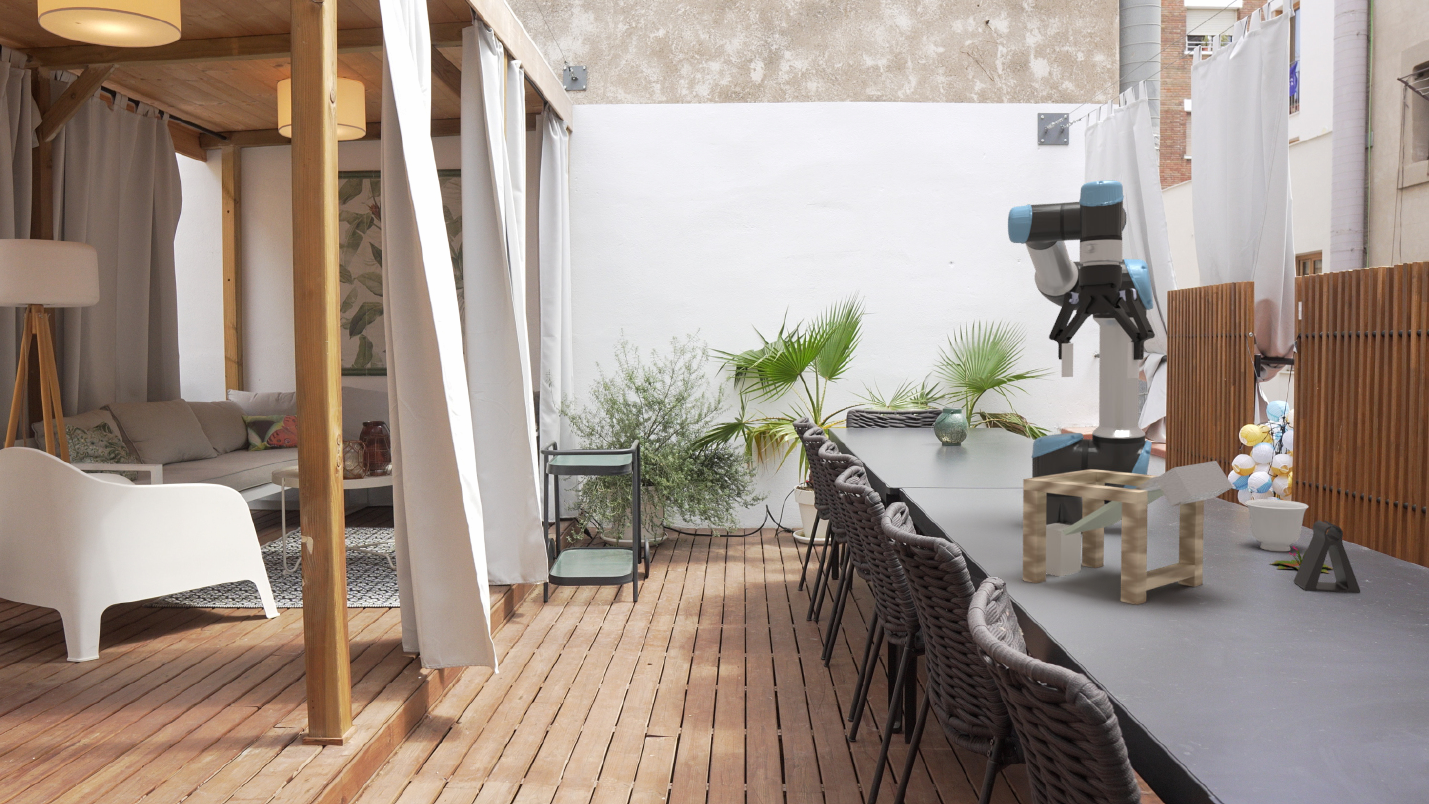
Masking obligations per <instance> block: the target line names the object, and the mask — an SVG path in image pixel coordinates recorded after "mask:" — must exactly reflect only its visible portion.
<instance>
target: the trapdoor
mask: <svg viewBox="0 0 1429 804" xmlns="http://www.w3.org/2000/svg"><path fill="white" fill-rule="evenodd" d="M1155 476H1156V477H1153V478H1151V479H1149V480H1148V481H1146V482H1144V483H1143V484H1141V485H1139V486H1138V487H1136V488H1134V489H1136V490H1145V491H1148V505H1150V504H1151V503H1153V502H1155V501H1156V500H1158V499H1160V498H1162V497H1163V496H1165V498H1166V500H1167V501H1168V503H1169V504H1170V507H1177V506H1180V505H1182V504H1187V503H1191V502H1196V501H1201V500H1204V501H1205V500H1206V501H1207V500H1211V499H1215V498H1217V497H1218V496H1220V495H1222V494H1223V493H1226V492H1227V491H1230V490H1231V489H1233V488H1234V486H1233V485H1232V483H1231V482H1230V479H1229V478H1228V477H1227V475H1226V474H1225V472H1224V471H1223V469H1222V468H1221V466H1220V465H1219V463H1218V462H1217V460H1213V461H1206V462H1201V463H1194V464H1188V465H1183V466H1175V467H1173V468H1170V469H1169V470H1167V471H1166V472H1164V473H1162V474H1160V475H1155ZM1120 521H1122V502H1118V501H1109V502H1108V503H1106V504H1104V506H1102V507H1101V508H1099V509H1098V510H1096V511H1094V512H1093V513H1091V514H1089V515H1088V516H1086V517H1084V518H1083V519H1081V520H1079V521H1078V522H1076V523H1074V524H1073V525H1071V526H1069V527H1068V528H1066V529H1064V530H1063V533H1064V535H1070V534H1074V533H1079V532H1084V531H1088V530H1093V529H1098V528H1102V527H1104V528H1106V527H1107V528H1108V527H1111V526H1114V525H1115V524H1117V523H1118V522H1120Z"/></svg>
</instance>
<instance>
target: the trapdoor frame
mask: <svg viewBox="0 0 1429 804" xmlns="http://www.w3.org/2000/svg"><path fill="white" fill-rule="evenodd" d="M1156 476H1157V475H1153V474H1147V475H1144V474H1134V473H1124V472H1114V471H1104V470H1095V469H1089V470H1082V471H1075V472H1069V473H1062V474H1055V475H1048V476H1041V477H1035V478H1032V477H1029V478H1024V479H1023V480H1022V482H1023V483H1022V484H1023V486H1022V487H1023V488H1022V489H1023V491H1022V492H1023V495H1022V497H1023V499H1022V500H1023V501H1022V502H1023V504H1022V508H1023V509H1022V511H1023V512H1022V514H1023V515H1022V518H1023V519H1022V523H1023V524H1022V581H1023V580H1024V582H1028V583H1034V584H1039V583H1043V582H1046V581H1047V574H1046V492H1047V493H1054V494H1062V495H1070V496H1078V497H1082V498H1083V511H1082V519H1083V518H1084V517H1086V516H1088V515H1089V514H1091V513H1093V512H1094V511H1096V510H1098V509H1099V508H1101V507H1102V506H1104V505H1105V501H1109V502H1111V501H1118V502H1122V520H1121V545H1120V546H1121V551H1120V554H1121V555H1120V556H1121V557H1120V559H1121V560H1120V561H1121V562H1120V602H1123V603H1127V604H1132V605H1136V606H1137V605H1142V604H1144V603H1147V591H1150V590H1152V589H1156V588H1159V587H1163V586H1166V585H1169V584H1173V583H1176V582H1178V584H1179V585H1183V586H1189V587H1198V586H1201V585H1203V581H1204V580H1203V577H1204V576H1203V575H1204V574H1203V571H1204V570H1203V569H1204V568H1203V567H1204V565H1203V564H1204V525H1205V524H1204V523H1205V522H1204V521H1205V520H1204V518H1205V517H1204V516H1205V509H1204V508H1205V500H1201V501H1196V502H1191V503H1187V504H1182V505H1179V526H1178V527H1179V531H1178V533H1179V534H1178V536H1179V537H1178V539H1179V540H1178V542H1179V543H1178V562H1177V563H1172V564H1169V565H1165V566H1161V567H1158V568H1154V569H1151V570H1148V569H1147V566H1148V561H1147V559H1148V556H1147V555H1148V505H1149V504H1148V491H1145V490H1136V489H1127V488H1118V487H1110V486H1105V483H1113V484H1122V485H1131V486H1139V485H1141V484H1143V483H1144V482H1146V481H1148V480H1149V479H1151V478H1153V477H1156ZM1104 558H1105V527H1102V528H1098V529H1093V530H1088V531H1084V532H1082V533H1081V567H1082V566H1083V567H1087V568H1088V567H1089V568H1094V569H1097V568H1101V567H1104V566H1105V563H1104V562H1105V559H1104Z"/></svg>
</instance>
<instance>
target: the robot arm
mask: <svg viewBox="0 0 1429 804" xmlns="http://www.w3.org/2000/svg"><path fill="white" fill-rule="evenodd" d="M1123 187H1124V185H1123V183H1121V182H1120V181H1118V180H1095V181H1088V182H1086V183H1083V185H1082V186H1081V187H1080V193H1079V194H1080V195H1079V196H1080V197H1079V201H1072V202H1059V203H1057V202H1056V203H1041V204H1040V203H1039V204H1026V205H1020V206H1014V207H1012V208H1011V209H1010V210H1009V212H1008V218H1007V232H1008V239H1009V241H1010V242H1011V243H1013V244H1021V245H1022V244H1023V245H1024V244H1025V246H1026V249H1027V252H1028V254H1029V257H1030V259H1031V262H1032V264H1033V267H1034V269H1035V270H1034V271H1035V272H1034V282H1035V283H1034V284H1035V285H1036V288H1037V290H1038V291H1039V292H1040V293H1041V295H1042V296H1043V297H1044V298H1046V299H1047V300H1048V301H1049V302H1051V303H1052V304H1054V305H1056V306H1059V307H1060V308H1061V309H1060V310H1059V313H1058V314H1057V317H1056V319H1055V322H1054V324H1053V326H1052V328H1051V330H1050V334H1049V335H1048V339H1049V340H1051V341H1054V342H1056V343H1057V344H1058V345H1057V346H1058V349H1057V350H1058V353H1057V354H1058V357H1057V358H1058V360H1061V378H1073V377H1074V343H1072V341H1071V340H1072V339H1073V338H1074V337H1075V335H1076V333H1077V332H1078V330H1080V328H1081V327H1082V326H1083V324H1084V323H1085V322H1086V320H1087V319H1088V318H1090V317H1091V315H1092V320H1094V322H1096V323H1097V324H1098V326H1099V351H1098V353H1099V361H1098V363H1099V368H1098V369H1099V373H1098V375H1099V378H1098V379H1099V382H1098V383H1099V385H1098V386H1099V387H1098V391H1099V393H1098V394H1099V395H1098V399H1099V403H1098V405H1099V406H1098V419H1099V420H1098V422H1099V423H1098V426H1097V427H1096V428H1095V429H1094V430H1093V431H1092V434H1091V435H1092V436H1091V437H1092V439H1088V438H1084V437H1085V436H1084V435H1083V433H1081V432H1074V433H1073V432H1069V433H1068V432H1067V433H1057V434H1050V435H1043V436H1039V437H1037V438H1035V440H1034V441H1033V443H1032V453H1031V454H1032V455H1031V459H1032V461H1031V462H1032V463H1031V464H1032V465H1031V466H1032V469H1031V471H1032V473H1031V476H1032V477H1031V478H1035V477H1041V476H1048V475H1055V474H1062V473H1069V472H1075V471H1082V470H1089V469H1095V470H1104V471H1114V472H1124V473H1134V474H1144V475H1148V470H1149V465H1150V458H1151V451H1152V445H1153V443H1152V441H1150V440H1148V439H1146V432H1145V431H1144V430H1142V428H1140V426H1139V399H1140V398H1139V394H1140V393H1139V391H1140V390H1139V389H1140V387H1139V384H1140V383H1139V382H1140V381H1139V379H1140V360H1142V361H1144V356H1145V353H1144V352H1145V351H1144V350H1145V342H1146V341H1148V340H1151V339H1154V338H1155V336H1156V334H1155V332H1154V329H1153V326H1152V325H1151V323H1150V321H1149V319H1148V317H1147V314H1148V313H1147V311H1150V310H1152V309H1153V308H1154V299H1153V288H1152V282H1151V281H1152V280H1151V275H1150V268H1149V265H1148V263H1147V261H1145V260H1144V259H1135V258H1131V259H1130V258H1124V259H1123V231H1124V229H1125V227H1126V225H1127V212H1126V210H1125V208H1124V199H1125V195H1124V189H1123ZM1066 241H1079V261H1073V260H1072V259H1070V256H1069V253H1068V250H1067V245H1066V243H1065V242H1066ZM1074 311H1075V314H1074V316H1073V317H1072V315H1073V313H1074ZM1070 319H1071V320H1070ZM1105 486H1110V487H1118V488H1127V489H1134V488H1136V487H1138V486H1131V485H1122V484H1113V483H1105ZM1082 511H1083V497H1078V496H1070V495H1062V494H1054V493H1047V492H1046V525H1049V524H1054V523H1060V524H1066V525H1073V524H1074V523H1076V522H1078V521H1079V520H1081V519H1082ZM1081 534H1082V532H1081Z"/></svg>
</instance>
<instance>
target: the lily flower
mask: <svg viewBox="0 0 1429 804" xmlns="http://www.w3.org/2000/svg"><path fill="white" fill-rule="evenodd" d="M1292 549H1294V550H1295V552H1293V553H1292V552H1290V551H1288V554H1290V556H1292V557H1293V558H1294V559H1291V560H1279V559H1278V560H1275V561H1274V562H1272V563H1271V565H1278V566H1277V568H1276V569H1277V570H1288V569H1289V568H1290V567H1293V568H1295V569H1296V570H1299V567H1300V565H1301V563H1302V560H1303V558H1304V556H1305V554H1306V551H1305V552H1304V553H1303V549H1302V551H1301V554H1300V550H1299V549H1298V548H1297V547H1295V545H1292ZM1328 569H1329V570H1333V567H1332V566H1329V565H1327V564H1326V563H1324V564H1323V567H1322V570H1321V573H1327V574H1330V572H1329V571H1328Z"/></svg>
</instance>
